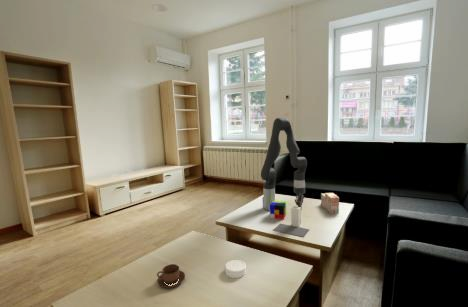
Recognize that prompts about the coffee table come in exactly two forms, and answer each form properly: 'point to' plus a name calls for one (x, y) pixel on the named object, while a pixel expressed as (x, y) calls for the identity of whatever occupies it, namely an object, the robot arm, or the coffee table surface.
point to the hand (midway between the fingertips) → (299, 210)
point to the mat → (291, 230)
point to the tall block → (295, 216)
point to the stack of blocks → (330, 202)
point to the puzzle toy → (278, 209)
